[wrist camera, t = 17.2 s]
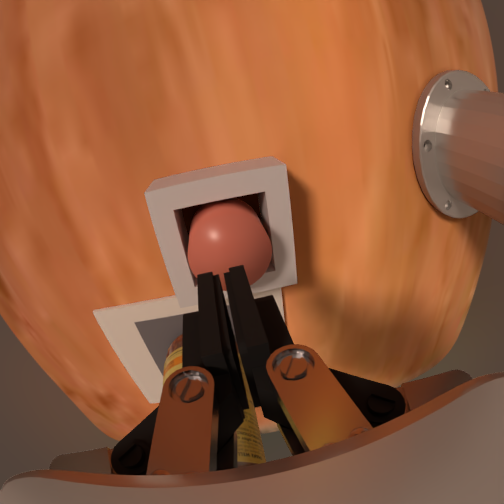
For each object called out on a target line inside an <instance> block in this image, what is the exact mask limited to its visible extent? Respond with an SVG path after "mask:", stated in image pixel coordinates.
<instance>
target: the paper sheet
mask: <svg viewBox="0 0 504 504" xmlns="http://www.w3.org/2000/svg"><path fill="white" fill-rule="evenodd" d="M269 295H273V296H274V298H275V301H276V303H277V305H278V308H279V310H280V313H281V315H282V317H283V320H284V310H283V301H282V292H281V287H280V288H276V289H271V290H267V291H262V292H258V293H253V297H254V299H256V298H261V297H265V296H269ZM225 301H226V305H227V309H228V313H229V317H230V320H231V324H232V328H233V332H234V337H235V341H236V336H235V331H234V326H233V321H232V316H231V311H230V305H229V300H228V299H225ZM196 311H198V305H194V306H189V307H184V308H180V306H179V303H178V300H177V297H176V295H173V296H168V297H163V298H158V299H152V300H147V301H141V302H136V303H130V304H125V305H119V306H114V307H108V308H102V309H96V310H94V311H93V314H94V316H95V318H96V319H97V321H98V323H99V325H100V327H101V328H102V330H103V332H104V334H105V335H106V337H107V339H108V341H109V342H110V344H111V346H112V347H113V349H114V351H115V352H116V354H117V355H118V357H119V359H120V360H121V362H122V363H123V365H124V366H125V368H126V370H127V371H128V373H129V374H130V376H131V377H132V378H133V380H134V381H135V383H136V384H137V386H138V387H139V389H140V390H141V391H142V393H143V394H144V396H145V397H146V398H147V400H148V401H149V402H150V403H160V398H161V394H162V389H163V373H164V363H165V361H166V356H167V353H168V348H169V347H170V345H171V344H172V342H173V341H174V340H175V339H176V338H177V337H178V336H180V335H182V330H183V314H186V313H191V312H196ZM284 322H285V320H284ZM236 343H237V341H236Z"/></svg>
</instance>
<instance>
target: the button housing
mask: <svg viewBox="0 0 504 504" xmlns="http://www.w3.org/2000/svg"><path fill="white" fill-rule="evenodd" d="M254 193H257V196H258V203H259V210H260V217H261V223H262V225H263V227H264V229H265V231H266V233H267V235H268V236H269V239H270V241H271V246H272V257H271V261H270V264H269V267H268V268H267V270H266V272H265V273H264V275H263V276H262V277H261V278H260V279H259V280H257V281H256V282H255V283H253V284H252V285H250V287H251V290H252V294H253V293H258V292H262V291H267V290H271V289H276V288H280V287H285V286H289V285H293V284H297V272H296V259H295V247H294V236H293V225H292V215H291V205H290V195H289V186H288V177H287V168H286V164H285V163H283V162H281V161H280V160H278V159H276V158H274V157H273V156H270V157H263V158H257V159H251V160H245V161H239V162H234V163H229V164H223V165H218V166H213V167H208V168H203V169H199V170H194V171H189V172H185V173H180V174H176V175H172V176H168V177H164V178H160V179H156V180H154V181H153V182H152V183H151V185H150V186H149V187H148V189H147V190H146V191H145V193H144V194H145V198H146V201H147V205H148V209H149V212H150V216H151V219H152V223H153V226H154V230H155V233H156V236H157V240H158V243H159V246H160V249H161V253H162V256H163V259H164V262H165V265H166V268H167V271H168V274H169V277H170V280H171V283H172V286H173V289H174V292H175V294H176V297H177V300H178V303H179V306H180V308H184V307H189V306H194V305H198V287H197V278H196V277H195V275H194V274H193V272H192V270H191V268H190V266H189V262H188V244H189V236H188V232H187V228H186V224H185V221H184V216H183V212H182V208H185V207H190V206H194V205H199V204H204V203H209V202H213V201H218V200H223V199H228V198H233V197H238V196H244V195H249V194H254ZM223 293H224V297H225V299H228V295H227V291H223Z"/></svg>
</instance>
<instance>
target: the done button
mask: <svg viewBox="0 0 504 504" xmlns="http://www.w3.org/2000/svg"><path fill="white" fill-rule="evenodd" d="M271 257H272V246H271V241H270V239H269V236H268V235H267V233H266V231H265V229H264V227H263V225H262V223H261V222H260V220H259V218H258V216H257V214H256V212H255V211H254V210H253V208H252V207H251V206H249V205H248V204H247V203H245V202H244V201H242V200H239V199H236V198H228V199H223V200H218V201H213V202H209V203H205V204H204V205H202V206H201V207H200V208H199V209H198V210H197V212H196V213H195V215H194V216H193V218H192V221H191V225H190V233H189V244H188V262H189V266H190V268H191V270H192V272H193V274H194V275H195V277H196V278H197V275H198V274H203V273H207V272H213V275H217V274H219V277H220V281H221V285H222V289H223V291H227V290H226V284H225V279H224V273H226V272H229V268H230V267H235V266H240V265H244V269H245V272H246V275H247V278H248V281H249V284H250V285H252V284H253V283H255V282H256V281H257V280H259V279H260V278H261V277H262V276H263V275H264V273H265V272H266V270H267V268H268V267H269V264H270V261H271Z"/></svg>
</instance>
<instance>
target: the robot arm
mask: <svg viewBox="0 0 504 504" xmlns="http://www.w3.org/2000/svg"><path fill="white" fill-rule="evenodd" d="M412 151H413V160H414V166H415V171H416V175H417V179H418V181H419V184H420V186H421V189H422V191H423V193H424V195H425V196H426V198H427V199H428V201H429V202H430V203H431V204H432V205H433V206H434V207H435V208H436V209H437V210H439V211H440V212H442V213H444V214H445V215H448V216H450V217H452V218H465V217H469V216H471V215H473V214H475V213H476V212H478V211H480V212H482V213H483V214H485V215H487V216H489V217H491V218H492V219H494V220H496V221H498V222H499V223H501V224H503V225H504V93H497V92H490V90H489V89H488V88H487V86H486V85H485V84H484V83H483V82H482V81H481V80H480V79H479V78H478V77H476V76H475V75H473V74H471V73H469V72H467V71H461V70H448V71H444V72H442V73H439V74H437V75H436V76H435V77H434V78H432V79H431V80H430V81H429V83H428V84H427V86H426V87H425V88H424V90H423V92H422V94H421V96H420V99H419V101H418V104H417V108H416V112H415V115H414V122H413V130H412ZM224 279H225V284H226V290H227V295H228V300H229V305H230V311H231V316H232V321H233V326H234V331H235V336H236V341H237V345H238V350H239V354H240V358H241V361H242V365H243V368H244V372H245V376H246V379H247V383H248V386H249V390H250V393H251V397H252V400H253V404H254V407H259V406H261V407H262V411H263V415H264V417H265V418H267V419H269V420H272V421H274V422H276V423H277V426H278V428H279V430H280V432H281V434H282V436H283V438H284V440H285V442H286V444H287V446H288V448H289V450H290V452H291V453H292V455H293V456H291V457H287V458H283V459H279V460H274V461H270V462H265V463H261V464H256V465H251V466H245V467H239V468H238V464H237V431H236V430H237V429H238V428H239V427H240V425H241V424H242V423H243V422H244V420H243V419H245V414H244V410H246V409H249V404H248V399H247V394H246V390H245V385H244V380H243V376H242V371H241V366H240V361H239V356H238V351H237V347H236V342H235V337H234V332H233V328H232V324H231V320H230V317H229V313H228V309H227V305H226V301H225V297H224V293H223V289H222V285H221V281H220V277H219V274H217V275H213V272H207V273H203V274H198V275H197V287H198V311H196V312H191V313H186V314H183V330H182V368H181V369H178V370H176V371H175V372H173V373H172V374H171V375H170V376H169V377H168V378H167V379H166V380H165V383H164V385H163V389H162V394H161V398H160V403H159V406H158V407H157V408H156V409H155V410H154V411H153V412H152V413H151V414H150V415H148V416H147V417H146V418H145V419H144V420H143V421H142V422H141V423H140V424H139V425H138V426H136V427H135V428H134V429H133V430H132V431H131V432H130V433H129V434H128V435H126V436H125V437H124V438H123V439H122V440H121V441H120V442H119V443H118V444H117V445H116V446H115V447H114V448H113V449H109V448H108V447H104V448H99V449H93V450H88V451H82V452H76V453H70V454H62V455H59V456H57V457H55V458H54V459H53V460H52V462H51V464H50V467H49V469H44V470H43V469H42V470H33V471H27V472H23V473H20V474H17V475H15V476H13V477H11V478H9V479H8V480H7V481H6V482H5V483H4V485H3V486H2V489H1V491H0V504H504V372H498V373H493V374H488V375H484V376H481V377H477V378H475V379H472V377H471V376H470V375H469V374H468V373H466V372H465V371H461V370H451V371H448V372H445V373H441V374H438V375H434V376H431V377H427V378H423V379H420V380H415V381H411V382H407V383H403V384H402V385H401V387H398V388H394V387H391V386H389V385H385V384H382V383H378V382H374V381H371V380H367V379H364V378H360V377H357V376H353V375H350V374H347V373H343V372H340V371H337V370H334V369H330V368H328V367H327V366H326V365H325V363H324V362H323V360H322V359H321V358H320V356H319V355H318V354H317V353H316V352H315V351H314V350H313V349H311V348H309V347H307V346H304V345H299V344H294V343H293V341H292V339H291V336H290V334H289V332H288V329H287V327H286V324H285V322H284V320H283V317H282V315H281V313H280V310H279V308H278V305H277V303H276V301H275V298H274V296H273V295H269V296H265V297H261V298H256V299H254V297H253V294H252V290H251V287H250V284H249V281H248V278H247V275H246V272H245V269H244V265H240V266H235V267H230V268H229V272H226V273H224Z"/></svg>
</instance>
